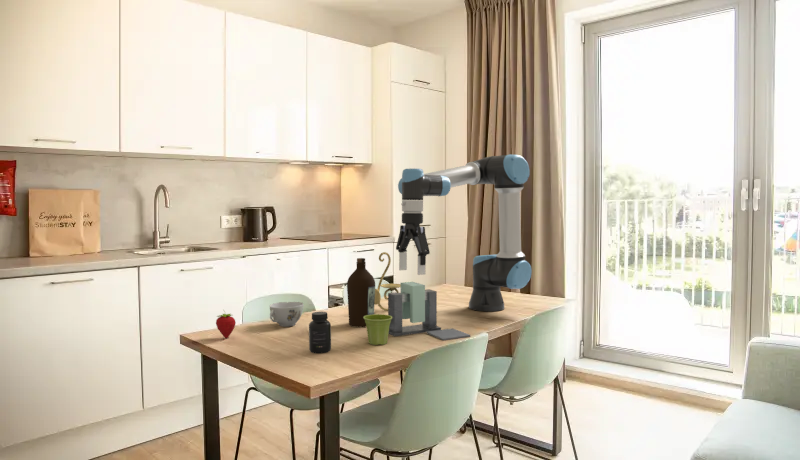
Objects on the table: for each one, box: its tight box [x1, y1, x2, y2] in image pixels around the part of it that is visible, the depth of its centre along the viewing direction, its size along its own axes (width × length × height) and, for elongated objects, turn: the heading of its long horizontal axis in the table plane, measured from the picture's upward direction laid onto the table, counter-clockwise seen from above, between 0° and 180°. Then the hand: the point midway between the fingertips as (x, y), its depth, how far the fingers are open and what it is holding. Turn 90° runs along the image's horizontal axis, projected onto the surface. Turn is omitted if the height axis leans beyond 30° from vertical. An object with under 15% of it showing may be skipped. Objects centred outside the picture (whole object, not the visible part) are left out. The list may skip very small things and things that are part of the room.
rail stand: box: [387, 289, 442, 337], centre depth 200 cm, size 19×8×14 cm, turn 118°
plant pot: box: [363, 313, 392, 346], centre depth 184 cm, size 9×9×9 cm
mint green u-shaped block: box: [400, 281, 426, 324], centre depth 200 cm, size 5×9×13 cm, turn 28°
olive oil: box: [346, 257, 376, 328], centre depth 210 cm, size 11×11×25 cm
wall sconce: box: [374, 251, 401, 312], centre depth 236 cm, size 14×10×25 cm
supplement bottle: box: [308, 311, 332, 355], centre depth 175 cm, size 7×7×12 cm
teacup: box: [269, 301, 304, 328], centre depth 209 cm, size 15×12×8 cm
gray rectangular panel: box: [425, 327, 471, 341], centre depth 195 cm, size 11×11×1 cm
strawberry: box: [215, 310, 236, 339], centre depth 191 cm, size 6×8×10 cm
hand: (411, 272), depth 199 cm, fingers open, 13 cm apart
